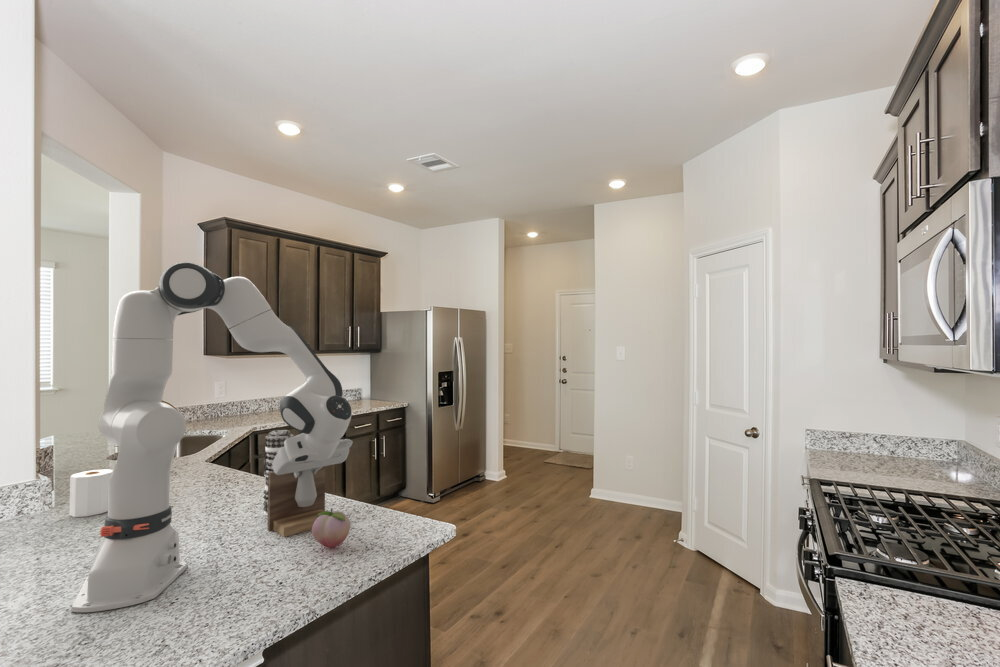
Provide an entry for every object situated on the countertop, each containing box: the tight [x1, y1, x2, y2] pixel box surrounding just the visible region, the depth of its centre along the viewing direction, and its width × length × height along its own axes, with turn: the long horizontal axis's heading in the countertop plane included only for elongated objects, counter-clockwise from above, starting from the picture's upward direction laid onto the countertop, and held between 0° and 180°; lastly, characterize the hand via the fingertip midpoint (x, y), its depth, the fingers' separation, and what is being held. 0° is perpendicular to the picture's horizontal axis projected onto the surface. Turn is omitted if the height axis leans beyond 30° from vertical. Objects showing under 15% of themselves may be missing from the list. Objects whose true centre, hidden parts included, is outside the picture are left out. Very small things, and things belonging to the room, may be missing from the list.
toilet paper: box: [68, 468, 114, 518], centre depth 150 cm, size 10×10×12 cm
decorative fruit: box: [311, 508, 351, 549], centre depth 121 cm, size 9×8×10 cm
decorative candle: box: [262, 429, 294, 517], centre depth 149 cm, size 9×9×25 cm
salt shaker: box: [295, 469, 317, 507], centre depth 136 cm, size 6×6×13 cm
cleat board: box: [267, 466, 326, 538], centre depth 137 cm, size 9×16×16 cm, turn 136°
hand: (304, 473), depth 137 cm, fingers closed on salt shaker, 3 cm apart
